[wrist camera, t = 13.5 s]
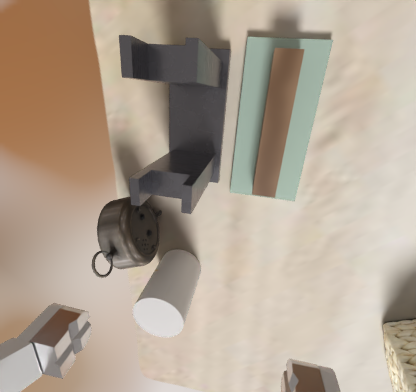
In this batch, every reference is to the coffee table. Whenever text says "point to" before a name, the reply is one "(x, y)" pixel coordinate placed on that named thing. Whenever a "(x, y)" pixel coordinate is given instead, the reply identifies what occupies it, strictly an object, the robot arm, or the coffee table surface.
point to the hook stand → (182, 116)
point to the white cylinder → (168, 294)
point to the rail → (276, 119)
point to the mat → (255, 105)
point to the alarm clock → (127, 234)
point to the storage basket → (401, 354)
